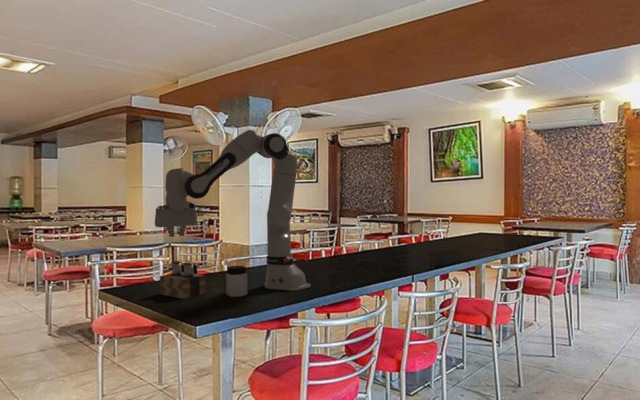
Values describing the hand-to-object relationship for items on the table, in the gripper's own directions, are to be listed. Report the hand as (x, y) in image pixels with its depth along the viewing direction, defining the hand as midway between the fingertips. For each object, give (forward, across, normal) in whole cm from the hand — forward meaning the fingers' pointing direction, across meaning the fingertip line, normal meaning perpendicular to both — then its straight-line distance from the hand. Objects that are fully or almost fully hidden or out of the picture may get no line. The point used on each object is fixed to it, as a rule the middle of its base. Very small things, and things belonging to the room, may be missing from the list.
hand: (176, 236), depth 206 cm
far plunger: (+19, 0, 0) cm, 19 cm away
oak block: (+25, 0, -4) cm, 25 cm away
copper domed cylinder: (+19, 0, -8) cm, 20 cm away
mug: (+25, +14, +10) cm, 31 cm away
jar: (+25, +12, -25) cm, 38 cm away
